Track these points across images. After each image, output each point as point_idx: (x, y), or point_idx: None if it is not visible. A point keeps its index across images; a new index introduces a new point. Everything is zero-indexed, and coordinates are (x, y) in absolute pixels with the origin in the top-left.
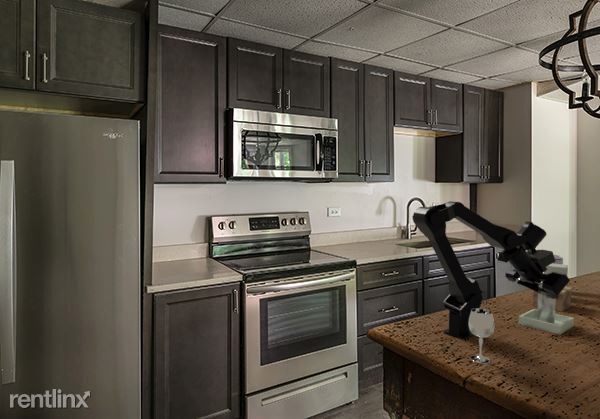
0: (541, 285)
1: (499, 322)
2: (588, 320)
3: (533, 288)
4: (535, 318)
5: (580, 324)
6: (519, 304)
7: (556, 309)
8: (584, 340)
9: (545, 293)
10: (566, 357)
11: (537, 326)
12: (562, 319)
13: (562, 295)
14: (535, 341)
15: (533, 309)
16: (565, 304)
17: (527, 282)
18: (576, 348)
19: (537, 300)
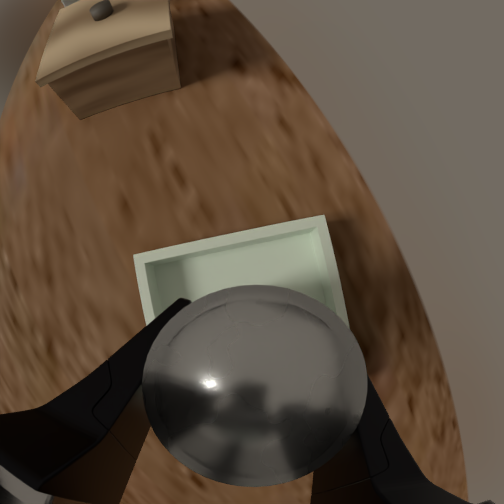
0: (246, 482)
1: (141, 456)
2: (295, 103)
3: (148, 424)
4: None
5: (313, 176)
6: (46, 157)
7: (160, 90)
8: (414, 353)
9: (316, 486)
10: None
11: None
12: (277, 237)
13: (167, 40)
14: None
15: (138, 265)
16: (174, 48)
17: (112, 496)
18: (422, 436)
19: (84, 101)
